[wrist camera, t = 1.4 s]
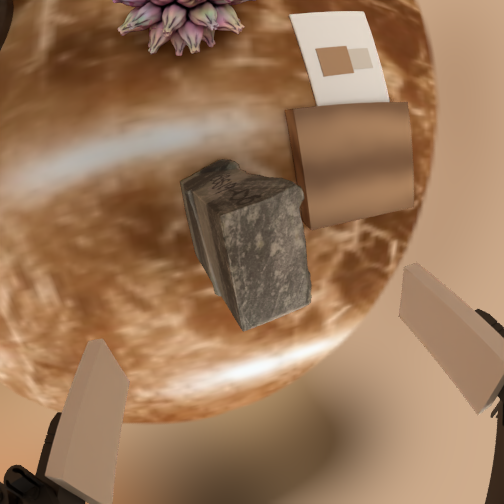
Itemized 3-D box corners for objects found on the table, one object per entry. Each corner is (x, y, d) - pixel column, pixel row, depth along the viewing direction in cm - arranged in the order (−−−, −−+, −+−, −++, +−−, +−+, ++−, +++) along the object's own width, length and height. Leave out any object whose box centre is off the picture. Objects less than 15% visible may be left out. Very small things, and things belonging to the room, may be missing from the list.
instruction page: (288, 15, 22) (290, 14, 22) (362, 12, 22) (364, 11, 22) (319, 118, 27) (321, 119, 27) (389, 107, 27) (391, 107, 27)
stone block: (222, 157, 28) (170, 169, 26) (306, 172, 16) (216, 191, 14) (236, 240, 32) (189, 254, 30) (314, 305, 20) (243, 334, 18)
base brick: (284, 110, 27) (293, 109, 24) (392, 102, 27) (407, 102, 25) (302, 220, 32) (311, 230, 29) (399, 200, 32) (413, 207, 30)
